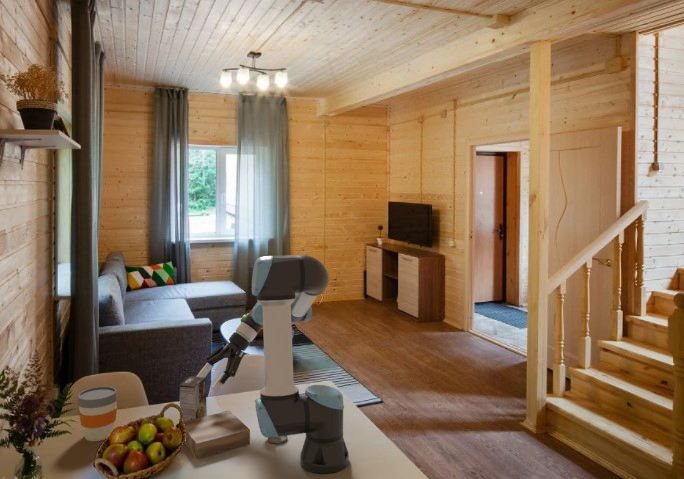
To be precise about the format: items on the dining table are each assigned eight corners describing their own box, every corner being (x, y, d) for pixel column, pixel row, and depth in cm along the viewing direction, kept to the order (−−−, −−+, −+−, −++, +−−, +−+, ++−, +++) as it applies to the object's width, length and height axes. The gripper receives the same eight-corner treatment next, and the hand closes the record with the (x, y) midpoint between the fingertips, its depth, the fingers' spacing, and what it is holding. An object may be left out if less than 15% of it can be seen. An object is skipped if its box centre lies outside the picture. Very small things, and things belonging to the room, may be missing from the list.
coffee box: (191, 418, 199) (190, 375, 197) (207, 419, 197) (206, 376, 196) (179, 428, 190) (178, 384, 188) (196, 430, 189) (195, 385, 187)
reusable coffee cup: (126, 432, 186) (125, 391, 185) (92, 447, 176) (90, 403, 175) (105, 423, 193) (103, 383, 192) (71, 437, 183) (69, 394, 182)
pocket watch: (284, 445, 178) (283, 416, 177) (260, 442, 180) (259, 414, 179) (291, 434, 186) (291, 406, 185) (268, 432, 188) (267, 404, 187)
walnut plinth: (250, 443, 179) (249, 429, 178) (196, 458, 169) (196, 443, 168) (229, 423, 194) (229, 410, 193) (179, 436, 184) (179, 422, 183)
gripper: (265, 350, 196) (228, 400, 189) (234, 335, 216) (199, 379, 208) (251, 339, 192) (213, 389, 185) (221, 324, 212) (186, 369, 205)
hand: (206, 384), depth 197 cm, fingers open, 13 cm apart
